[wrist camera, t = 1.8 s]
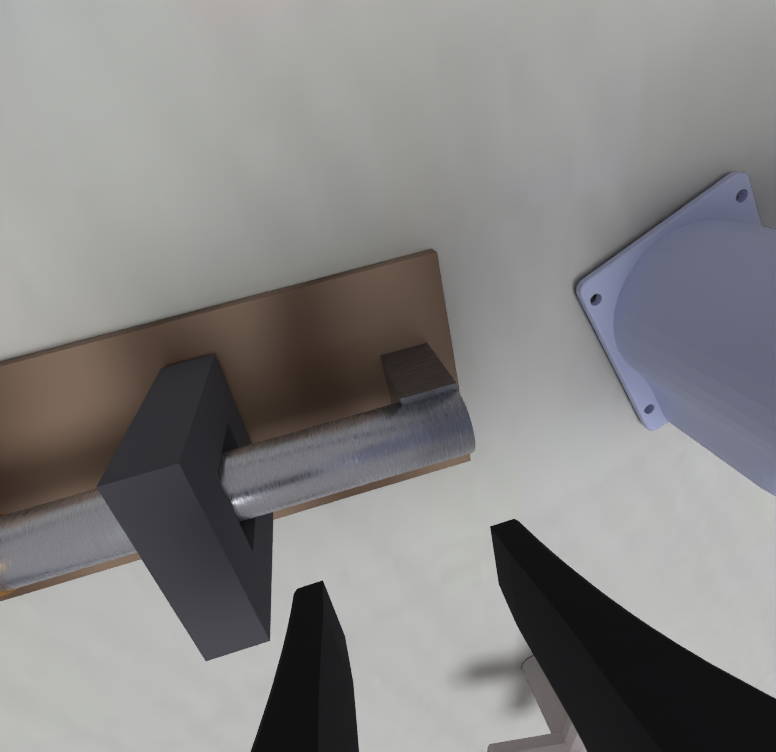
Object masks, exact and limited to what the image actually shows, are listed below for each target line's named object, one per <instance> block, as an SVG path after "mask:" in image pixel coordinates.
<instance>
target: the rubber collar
mask: <svg viewBox="0 0 776 752" xmlns="http://www.w3.org/2000/svg"><path fill="white" fill-rule="evenodd" d="M250 444H252V442H251V440H250V437H249V435H248V433H247V430H246V428H245V425H244V423H243V421H242V418H241V416H240V413H239V411H238V409H237V406H236V404H235V401H234V399H233V397H232V394H231V392H230V389H229V387H228V385H227V382H226V380H225V377H224V375H223V372H222V370H221V368H220V365H219V363H218V360H217V358H216V356H215V354H212V355H209V356H205V357H201V358H197V359H194V360H190V361H186V362H183V363H179V364H175V365H171V366H168V367H164V368H161V369H160V371H159V373H158V375H157V377H156V378H155V380H154V382H153V384H152V386H151V388H150V389H149V391H148V393H147V395H146V397H145V399H144V400H143V402H142V404H141V406H140V408H139V410H138V411H137V413H136V415H135V417H134V419H133V421H132V422H131V424H130V426H129V428H128V430H127V432H126V433H125V435H124V437H123V439H122V441H121V443H120V444H119V446H118V448H117V450H116V452H115V454H114V455H113V457H112V459H111V461H110V463H109V465H108V466H107V468H106V470H105V472H104V474H103V476H102V477H101V479H100V481H99V483H98V485H97V487H96V488H97V489H98V491H99V492H100V494H101V496H102V497H103V499H104V500H105V502H106V503H107V505H108V507H109V508H110V510H111V511H112V513H113V515H114V516H115V518H116V519H117V521H118V523H119V524H120V526H121V527H122V529H123V530H124V532H125V534H126V535H127V537H128V538H129V540H130V542H131V543H132V545H133V546H134V548H135V549H136V551H137V553H138V554H139V556H140V557H141V559H142V561H143V562H144V564H145V565H146V567H147V569H148V570H149V572H150V573H151V575H152V576H153V578H154V580H155V581H156V583H157V584H158V586H159V588H160V589H161V591H162V592H163V594H164V595H165V597H166V599H167V600H168V602H169V603H170V605H171V607H172V608H173V610H174V611H175V613H176V615H177V616H178V618H179V619H180V621H181V622H182V624H183V626H184V627H185V629H186V630H187V632H188V634H189V635H190V637H191V638H192V640H193V641H194V643H195V645H196V646H197V648H198V649H199V651H200V653H201V654H202V656H203V657H204V659H205V661H208V660H211V659H214V658H218V657H221V656H224V655H227V654H230V653H233V652H236V651H239V650H243V649H246V648H249V647H252V646H255V645H258V644H261V643H265V642H268V641H270V618H271V581H272V543H273V512H271V513H268V514H264V515H261V516H258V517H254V518H251V519H247V520H244V521H241V522H238V520H237V518H236V516H235V513H234V511H233V509H232V507H231V505H230V503H229V501H228V499H227V497H226V495H225V492H224V490H223V488H222V486H221V484H220V482H219V480H218V478H217V474H218V469H219V464H220V459H221V454H222V452H226V451H229V450H233V449H236V448H240V447H243V446H247V445H250Z"/></svg>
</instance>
